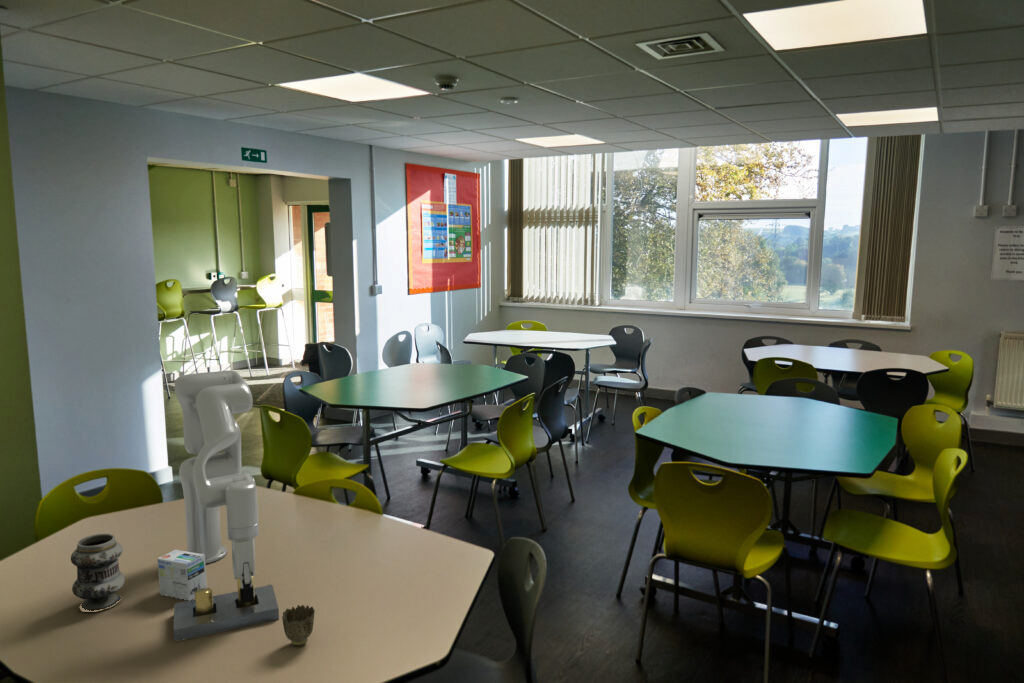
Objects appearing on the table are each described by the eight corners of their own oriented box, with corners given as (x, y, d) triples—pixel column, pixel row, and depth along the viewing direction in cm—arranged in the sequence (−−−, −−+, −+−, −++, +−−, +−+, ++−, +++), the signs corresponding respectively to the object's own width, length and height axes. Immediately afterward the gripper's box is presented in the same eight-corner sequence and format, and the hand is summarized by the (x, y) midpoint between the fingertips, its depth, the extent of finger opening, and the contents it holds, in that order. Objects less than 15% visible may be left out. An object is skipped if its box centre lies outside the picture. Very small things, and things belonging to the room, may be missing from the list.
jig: (175, 614, 176) (174, 603, 176) (272, 594, 186) (272, 584, 186) (174, 641, 164) (173, 630, 163) (279, 619, 174) (278, 607, 174)
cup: (287, 636, 166) (286, 605, 165) (318, 634, 167) (317, 603, 166) (279, 653, 159) (278, 621, 158) (312, 651, 159) (310, 619, 158)
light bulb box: (208, 590, 189) (206, 553, 188) (189, 602, 183) (187, 563, 182) (178, 584, 193) (175, 548, 191) (158, 595, 186) (156, 558, 185)
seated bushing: (196, 619, 174) (194, 589, 173) (213, 615, 176) (211, 586, 175) (196, 627, 170) (195, 596, 169) (214, 623, 172) (212, 593, 171)
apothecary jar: (115, 613, 177) (110, 547, 175) (65, 617, 175) (59, 550, 173) (133, 591, 189) (128, 528, 187) (86, 594, 187) (81, 531, 185)
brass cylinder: (238, 603, 178) (236, 574, 177) (254, 600, 180) (252, 571, 179) (239, 610, 174) (237, 581, 173) (255, 607, 176) (254, 577, 175)
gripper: (225, 521, 180) (229, 586, 183) (229, 545, 165) (233, 616, 168) (255, 516, 184) (258, 581, 186) (262, 539, 169) (265, 609, 171)
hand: (246, 596), depth 177 cm, fingers closed on brass cylinder, 4 cm apart
